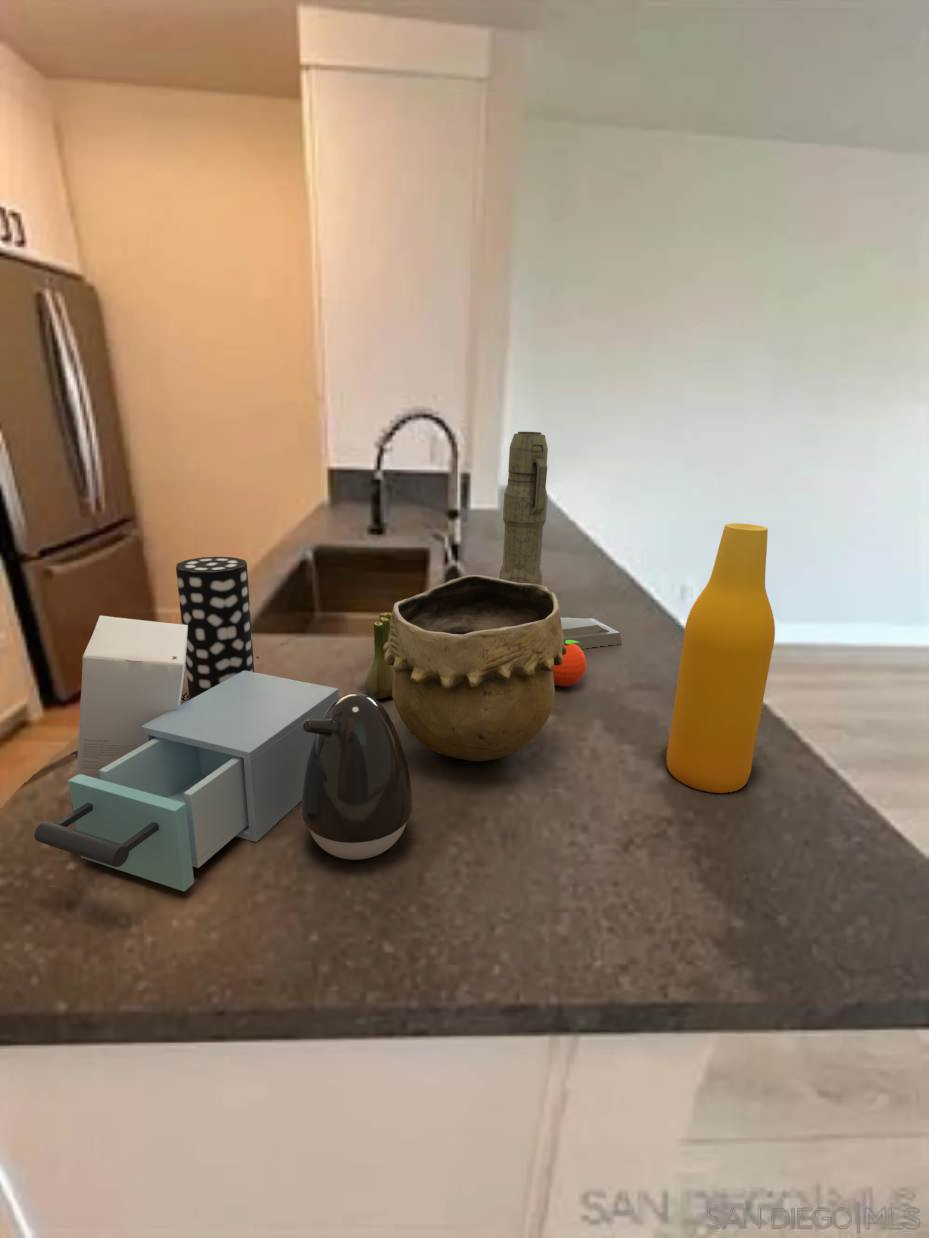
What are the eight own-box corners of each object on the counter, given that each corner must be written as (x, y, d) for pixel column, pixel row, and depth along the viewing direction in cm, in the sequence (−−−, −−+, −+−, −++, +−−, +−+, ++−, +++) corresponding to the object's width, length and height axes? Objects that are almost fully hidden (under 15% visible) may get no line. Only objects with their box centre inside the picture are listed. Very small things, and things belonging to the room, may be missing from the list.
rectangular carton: (176, 734, 79) (191, 623, 74) (169, 785, 72) (186, 664, 66) (89, 729, 76) (98, 612, 70) (72, 781, 68) (81, 655, 63)
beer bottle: (746, 762, 81) (790, 523, 72) (750, 802, 73) (799, 538, 64) (667, 747, 84) (700, 516, 75) (662, 784, 76) (698, 529, 67)
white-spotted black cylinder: (239, 727, 85) (227, 574, 79) (178, 720, 87) (161, 569, 80) (267, 700, 93) (258, 559, 87) (211, 694, 94) (198, 554, 88)
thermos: (519, 613, 136) (531, 433, 125) (486, 598, 145) (494, 430, 135) (553, 607, 141) (566, 434, 130) (518, 593, 150) (528, 430, 139)
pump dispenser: (281, 839, 64) (272, 693, 59) (369, 798, 71) (367, 665, 66) (343, 895, 57) (338, 734, 53) (433, 843, 64) (437, 698, 60)
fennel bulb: (381, 706, 93) (380, 623, 89) (355, 696, 95) (354, 616, 92) (409, 693, 97) (409, 614, 93) (384, 684, 100) (384, 607, 96)
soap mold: (622, 644, 120) (624, 625, 119) (522, 656, 113) (523, 636, 112) (590, 626, 129) (592, 609, 128) (496, 637, 122) (497, 618, 121)
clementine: (568, 671, 107) (572, 629, 105) (598, 687, 102) (603, 642, 99) (528, 680, 103) (531, 637, 101) (558, 697, 97) (562, 651, 95)
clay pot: (477, 823, 68) (485, 636, 61) (348, 747, 81) (344, 588, 75) (592, 753, 82) (609, 596, 76) (466, 699, 96) (471, 562, 90)
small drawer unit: (256, 842, 64) (249, 752, 61) (151, 812, 68) (140, 726, 65) (340, 764, 78) (338, 688, 75) (249, 743, 82) (244, 670, 79)
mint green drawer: (139, 932, 51) (127, 845, 49) (30, 892, 55) (13, 810, 53) (286, 800, 69) (282, 732, 66) (196, 777, 72) (189, 711, 70)
